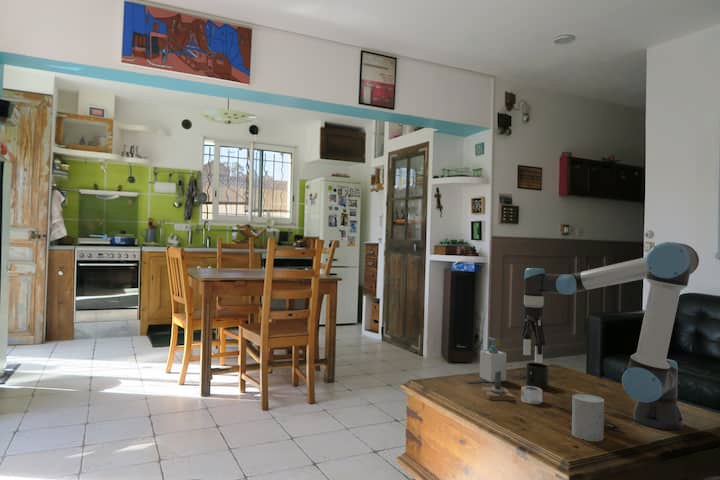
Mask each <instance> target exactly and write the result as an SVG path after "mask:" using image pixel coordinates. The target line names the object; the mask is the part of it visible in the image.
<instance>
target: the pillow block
mask: <svg viewBox="0 0 720 480" xmlns="http://www.w3.org/2000/svg"><path fill="white" fill-rule="evenodd" d="M501 384H502V381H501V371H495V382H494V385H493V386H491V387H486V386H485V387H481V392H482V393H483V394H484V396H486V398H487V399H488V400H490V401H494V400H495V401H515V396H514V395H513V394H512V393H511V392H510V391H509V390H508V389H507V388H505V387H502V385H501Z"/></svg>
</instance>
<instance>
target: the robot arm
mask: <svg viewBox="0 0 720 480" xmlns="http://www.w3.org/2000/svg"><path fill="white" fill-rule="evenodd" d="M699 263H700V257H699V254H698V252H697V251H696V250H695V249H694V248H693V247H692V246H690V245H689V244H685V243H680V242H679V243H678V242H674V241H666V242H665V241H664V242H660V243H659V244H656V245H654V246H653V247H651V248H650V249H649V250H648V252H647V254H646V256H645V257H641V258H637V259H636V258H635V259H631V260H627V261H623V262H619V263H613V264H610V265H605V266H601V267H597V268H592V269H588V270H583V271H579V272H574V273H569V274H568V273H566V274H565V273H564V274H563V273H562V274H559V273H558V274H557V273H556V274H554V273H546V272H545V269H544V268H538V267H537V268H536V267H527V268H525V270H524V277H523V279H524V283H523V284H524V286H523V287H524V288H523V289H524V293H523V305H524V306H523V315H524V322H523V327H522V332H521V337H522V338H523V350H522V351H523V354H522V355H524V356H531V353H532V352H531V349H532V348H531V347H532V346H531V345H532V335H533V337H534V338H533V339H534V341H535V343H534V363H540V364H543V354H544V353H543V350H544V349H543V347H544V346H546V339H545V333H544V327H543V325H544V323H543V320H542V319H541V320H540V317H541V318H542V317H544V307H543V306H544V301H545V298H544V297H545V293H549V294H550V293H551V294H559V295H560V294H561V295H573V294H574V293H575V294H576V293H580V292H583V291H588V290H593V289H597V288H598V289H599V288H603V287H608V286H614V285H619V284H624V283H630V282H633V281H634V282H635V281H639V280H645V279H646V281H648V284H649V290H648V296H647V301H646V304H645V305H646V306H645V310H644V315H643V319H642V324H641V329H640V334H639V340H638V344H637V349H636V352H635V353H633V354H631V355H630V358H629V362H628V367H627V369H626V370H625V371H624V372H623V374H622V377H621V384H622V387H623V390H624V391H625V393H626V394H627V395H628V396H629V397H630V398H631V399H633V400H635V401H637V402H636V404H635V406H634V409H633V411H632V412H633V414H632V419H633V420H634V421H635V422H637V423H639V424H640V425H645V426H648V427H651V428H655V429H660V428H661V429H662V430H668V429H671V430H670V431H672V429H673V430H674V431H675V429H677V430H681V429H683V428H684V419H683V417H682V416H683V415H682V414H681V410H680V408H679V405H678V377H679V376H678V372H679V369H678V363H677V361H676V360H673V359H669V358H667V357H668V352H669V348H670V343H671V337H672V333H673V327H674V324H675V319H676V314H677V309H678V304H679V299H680V294H681V291H682V290H684V289H686V288H687V287H688V285H689V281H690V275H691V274H693V273H694V272H696V270H697V269H698V267H699ZM682 427H683V428H682Z"/></svg>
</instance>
